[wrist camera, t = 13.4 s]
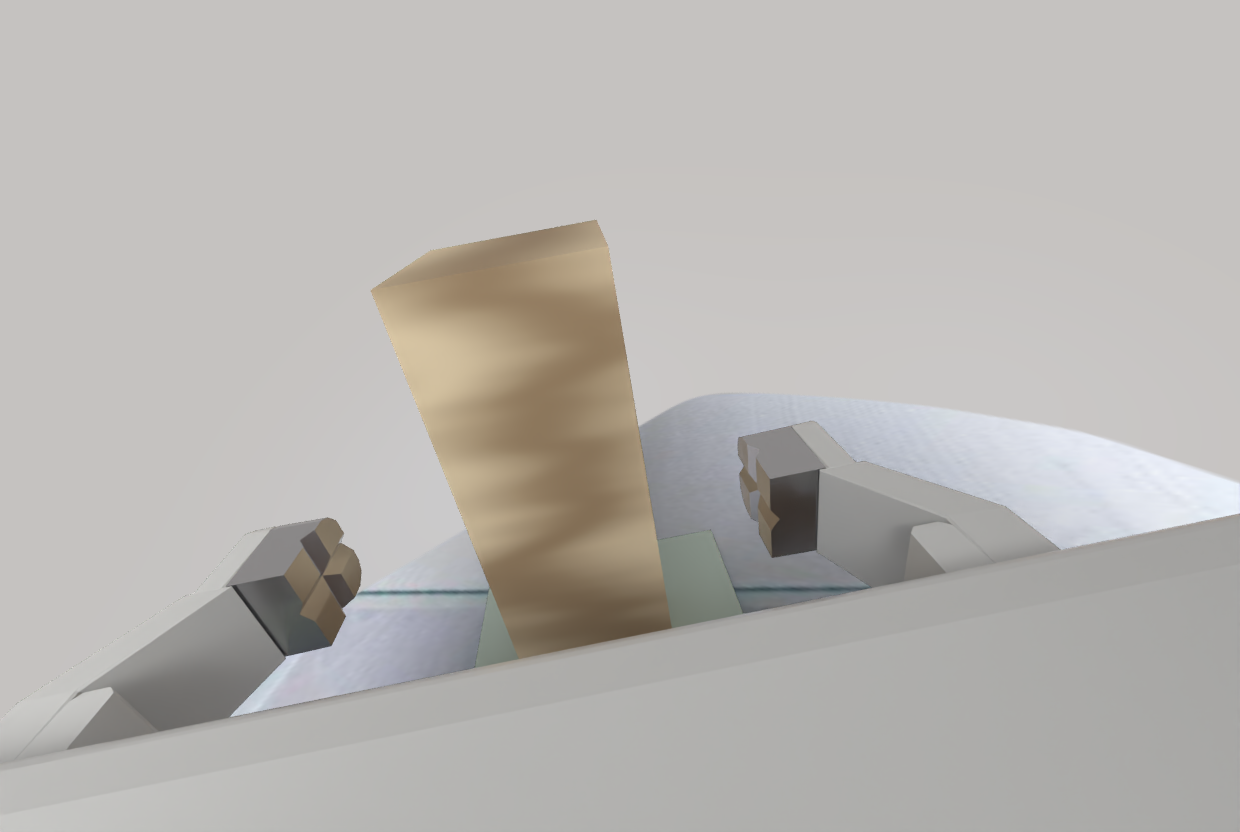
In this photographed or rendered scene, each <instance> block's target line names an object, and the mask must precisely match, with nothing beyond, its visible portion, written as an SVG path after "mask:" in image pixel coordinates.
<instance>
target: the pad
mask: <svg viewBox="0 0 1240 832" xmlns="http://www.w3.org/2000/svg"><path fill="white" fill-rule="evenodd" d="M657 542H658V548H659V554H660V560H661V566H662V572H663V578H664V584H665V590H666V596H667V602H668V608H669V614H670V620H671V626H672V628H676V627H681V626H686V625H691V624H696V623H701V622H706V621H711V620H716V619H721V618H726V617H731V616H736V615H741V614H743V612H742V609H741V606H740V604H739V601H738V599H737V596H736V593H735V591H734V588H733V586H732V583H731V581H730V578H729V575H728V573H727V570H726V568H725V565H724V562H723V560H722V557H721V555H720V552H719V549H718V547H717V544H716V542H715V539H714V536H713V534H712V531H711V530H707V531H702V532H696V533H691V534H686V535H681V536H675V537H670V538H665V539H660V540H657ZM517 659H519V658H518V656H517V653H516V651H515V648H514V646H513V643H512V641H511V638H510V636H509V633H508V631H507V628H506V626H505V623H504V621H503V618H502V616H501V613H500V611H499V608H498V606H497V603H496V601H495V598H494V596H493V593H492V591H491V589H490V587H489V592H488V597H487V603H486V608H485V614H484V619H483V625H482V630H481V636H480V641H479V647H478V652H477V657H476V663H475V668H477V667H482V666H487V665H492V664H497V663H502V662H507V661H512V660H517Z"/></svg>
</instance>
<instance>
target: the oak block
mask: <svg viewBox="0 0 1240 832" xmlns="http://www.w3.org/2000/svg"><path fill="white" fill-rule="evenodd" d="M371 292H372V295H373V297H374V300H375V302H376V305H377V307H378V310H379V312H380V315H381V317H382V320H383V322H384V325H385V327H386V329H387V332H388V335H389V337H390V340H391V342H392V345H393V347H394V349H395V352H396V355H397V357H398V360H399V362H400V364H401V367H402V369H403V372H404V375H405V377H406V379H407V382H408V385H409V387H410V389H411V392H412V394H413V397H414V399H415V402H416V404H417V407H418V409H419V412H420V414H421V417H422V419H423V422H424V424H425V427H426V429H427V432H428V434H429V437H430V439H431V442H432V444H433V447H434V449H435V452H436V454H437V456H438V459H439V462H440V464H441V466H442V469H443V472H444V474H445V477H446V479H447V481H448V484H449V487H450V489H451V491H452V494H453V496H454V499H455V501H456V504H457V506H458V509H459V511H460V514H461V516H462V519H463V521H464V524H465V526H466V529H467V531H468V534H469V536H470V539H471V541H472V544H473V546H474V549H475V551H476V554H477V556H478V559H479V561H480V564H481V566H482V569H483V571H484V574H485V576H486V579H487V581H488V584H489V586H490V589H491V591H492V593H493V596H494V598H495V601H496V603H497V606H498V608H499V611H500V613H501V616H502V618H503V621H504V623H505V626H506V628H507V631H508V633H509V636H510V638H511V641H512V643H513V646H514V648H515V651H516V653H517V656H518V658H519V659H522V658H527V657H531V656H536V655H541V654H546V653H551V652H556V651H561V650H566V649H571V648H576V647H581V646H586V645H591V644H596V643H601V642H606V641H611V640H616V639H621V638H626V637H631V636H636V635H641V634H646V633H651V632H656V631H661V630H666V629H671V628H672V626H671V620H670V614H669V608H668V602H667V596H666V590H665V584H664V578H663V572H662V566H661V560H660V554H659V548H658V542H657V536H656V530H655V524H654V518H653V512H652V506H651V500H650V494H649V488H648V482H647V476H646V470H645V464H644V458H643V452H642V446H641V440H640V434H639V428H638V422H637V416H636V410H635V404H634V398H633V392H632V386H631V380H630V374H629V368H628V362H627V356H626V350H625V344H624V338H623V332H622V326H621V320H620V314H619V308H618V302H617V296H616V290H615V284H614V278H613V272H612V266H611V261H610V254H609V248H608V245H607V242H606V240H605V238H604V236H603V233H602V231H601V229H600V227H599V225H598V223H597V220H593V221H587V222H582V223H577V224H571V225H566V226H560V227H555V228H550V229H544V230H539V231H533V232H528V233H523V234H517V235H512V236H507V237H501V238H496V239H490V240H485V241H480V242H474V243H469V244H463V245H458V246H452V247H447V248H442V249H436V250H431V251H429V252H428V253H426V254H425V255H423V256H422V257H420V258H418V259H417V260H415V261H414V262H412V263H411V264H410V265H408V266H406V267H405V268H404V269H402V270H400V271H399V272H397V273H396V274H394V275H393V276H391V277H390V278H388V279H387V280H385V281H384V282H382V283H381V284H379V285H378V286H376V287H375V288H373V289H372V290H371Z"/></svg>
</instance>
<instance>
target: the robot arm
mask: <svg viewBox="0 0 1240 832" xmlns="http://www.w3.org/2000/svg"><path fill="white" fill-rule="evenodd" d="M738 456H739V458H740V460H741V461H742V463H743V465H744V467H743V469H742V470H741V472H740V474H739V477H740V487H741V492H742V497H743V501H744V504H745V506H746V509H747V511H748V513H749V515H750V517H751V519H753V520H755V521H757V522H759V535H760V536H761V538H762V540H763V542H764V544H765V546H766V548H767V549H768V551H769V553H770V555H771V557H772V558H774V557H780V556H786V555H792V554H797V553H803V552H809V551H815V550H817V553H819V554H820V555H822V556H824V557H825V558H827V559H828V560H830V561H831V562H833V563H835V564H836V565H838V566H839V567H841V568H842V569H844V570H845V571H847V572H849V573H850V574H852V575H853V576H855V577H856V578H858V579H860V580H861V581H863V582H864V583H866V584H867V585H869V586H870V587H872V588H869V589H864V590H859V591H854V592H849V593H844V594H839V595H834V596H829V597H824V598H819V599H815V600H810V601H805V602H800V603H795V604H790V605H786V606H781V607H776V608H771V609H766V610H761V611H756V612H751V613H746V614H741V615H736V616H731V617H726V618H721V619H716V620H711V621H706V622H701V623H696V624H691V625H686V626H681V627H676V628H671V629H666V630H661V631H656V632H651V633H646V634H641V635H636V636H631V637H626V638H621V639H616V640H611V641H606V642H601V643H596V644H591V645H586V646H581V647H576V648H571V649H566V650H561V651H556V652H551V653H546V654H541V655H536V656H531V657H527V658H522V659H517V660H512V661H507V662H502V663H497V664H492V665H487V666H482V667H477V668H472V669H467V670H462V671H458V672H453V673H448V674H443V675H438V676H433V677H428V678H423V679H418V680H413V681H408V682H403V683H398V684H393V685H388V686H383V687H378V688H373V689H368V690H363V691H359V692H354V693H349V694H344V695H339V696H334V697H329V698H324V699H319V700H314V701H309V702H304V703H299V704H294V705H289V706H284V707H279V708H274V709H269V710H264V711H259V712H254V713H249V714H244V715H239V716H234V717H230V716H231V715H232V714H233V712H234V711H235V710H236V709H237V708H238V707H239V706H240V705H241V704H242V703H243V702H244V701H245V700H246V699H247V698H248V697H249V696H250V695H251V694H252V693H253V692H254V691H255V690H256V689H257V688H258V687H259V686H260V685H261V684H262V683H263V682H264V681H265V680H266V679H267V678H268V677H269V675H270V674H271V673H272V672H273V671H274V670H275V669H276V668H277V667H278V666H279V665H280V664H281V663H282V662H283V661H284V660H285V659H286V658H285V656H290V655H294V654H298V653H303V652H307V651H312V650H316V649H320V648H325V647H329V646H332V644H333V642H334V640H335V638H336V636H337V634H338V631H339V629H340V627H341V625H342V623H343V621H344V619H345V617H346V615H345V613H344V611H343V609H342V608H343V607H345V606H346V605H347V604H348V603H349V602H350V601H351V600H352V599H354V598H355V596H356V594H357V591H358V589H359V587H360V581H361V567H360V563H359V559H358V558H357V556H356V554H355V552H354V550H352V549H350V548H349V547H347V546H345V545H344V544H342V543H341V542H342V538H343V535H344V532H343V531H342V530H341V528H340V526H339V524H338V523H337V521H336V520H333V519H330V518H322V519H316V520H311V521H305V522H299V523H294V524H288V525H282V526H278V527H271V528H266V529H261V530H256V531H253V532H250V533H247V534H245V535H244V536H243V537H242V539H241V540H240V541H239V542H238V543H237V544H236V545H235V547H234V548H233V549H232V550H231V551H230V552H229V554H228V555H227V556H226V557H225V558H224V559H223V560H222V562H221V563H220V564H219V565H218V566H217V567H216V569H215V570H214V571H213V572H212V573H211V574H210V576H209V577H208V578H207V579H206V580H205V581H204V583H203V584H202V585H201V586H200V587H199V588H198V589H197V591H196V592H195V593H194V594H190V595H185V596H184V597H182V598H181V599H179V600H177V601H176V602H174V603H173V604H171V605H170V606H168V607H167V608H165V609H163V610H162V611H160V612H159V613H157V614H155V615H154V616H152V617H151V618H149V619H148V620H146V621H145V622H143V623H141V624H140V625H139V626H137V627H135V628H134V629H132V630H131V631H129V632H128V633H126V634H124V635H123V636H121V637H120V638H118V639H117V640H115V641H114V642H112V643H110V644H109V645H107V646H106V647H104V648H102V649H101V650H99V651H98V652H96V653H95V654H93V655H92V656H90V657H88V658H87V659H85V660H84V661H82V662H81V663H79V664H78V665H76V666H74V667H73V668H71V669H70V670H68V671H66V672H65V673H63V674H62V675H60V676H59V677H57V678H56V679H54V680H52V681H51V682H50V683H48V684H46V685H45V686H43V687H41V688H40V689H38V690H37V691H35V692H34V693H32V694H31V695H29V696H28V697H26V698H24V699H23V700H21V701H20V702H18V703H17V704H16V705H15V706H14V707H13V708H12V709H10V711H8V712H7V713H6V714H5V715H4V716H3V717H2V718H1V719H0V832H1240V514H1236V515H1231V516H1226V517H1221V518H1216V519H1211V520H1206V521H1201V522H1196V523H1191V524H1186V525H1181V526H1176V527H1172V528H1167V529H1162V530H1157V531H1152V532H1147V533H1142V534H1137V535H1132V536H1127V537H1122V538H1117V539H1112V540H1107V541H1102V542H1097V543H1092V544H1087V545H1082V546H1077V547H1072V548H1068V549H1063V550H1061V549H1059V548H1058V547H1057V546H1055V545H1054V544H1053V543H1052V542H1050V541H1049V540H1048V539H1047V538H1045V537H1044V536H1043V535H1041V534H1040V533H1039V532H1038V531H1036V530H1035V529H1034V528H1033V527H1031V526H1030V525H1029V524H1027V523H1026V522H1025V521H1024V520H1022V519H1021V518H1020V517H1019V516H1017V515H1016V514H1015V513H1013V512H1012V511H1011V510H1010V509H1008V508H1007V507H1006V506H1003V505H999V504H996V503H993V502H990V501H987V500H984V499H981V498H978V497H975V496H971V495H968V494H965V493H962V492H959V491H956V490H953V489H950V488H947V487H943V486H940V485H937V484H934V483H931V482H928V481H925V480H922V479H919V478H915V477H912V476H909V475H906V474H903V473H900V472H897V471H894V470H891V469H887V468H884V467H881V466H878V465H875V464H872V463H869V462H866V461H862V462H855V461H854V460H853V459H852V458H851V457H850V456H849V455H848V454H847V452H846V451H845V450H844V449H843V448H842V447H841V446H840V445H839V444H838V443H837V442H836V441H835V440H834V439H833V438H832V437H831V436H830V435H829V434H828V433H827V432H826V431H825V430H824V429H823V428H822V427H821V426H820V425H819V424H818V423H817V422H814V421H809V422H805V423H800V424H796V425H792V426H788V427H784V428H779V429H775V430H770V431H766V432H761V433H757V434H752V435H748V436H743V437H739V438H738Z"/></svg>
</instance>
